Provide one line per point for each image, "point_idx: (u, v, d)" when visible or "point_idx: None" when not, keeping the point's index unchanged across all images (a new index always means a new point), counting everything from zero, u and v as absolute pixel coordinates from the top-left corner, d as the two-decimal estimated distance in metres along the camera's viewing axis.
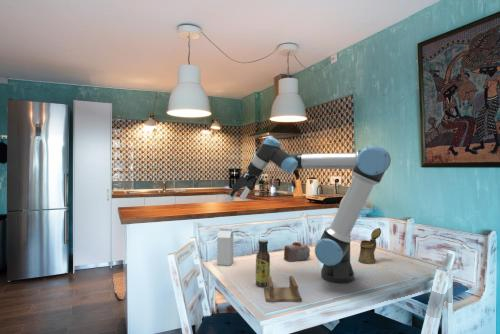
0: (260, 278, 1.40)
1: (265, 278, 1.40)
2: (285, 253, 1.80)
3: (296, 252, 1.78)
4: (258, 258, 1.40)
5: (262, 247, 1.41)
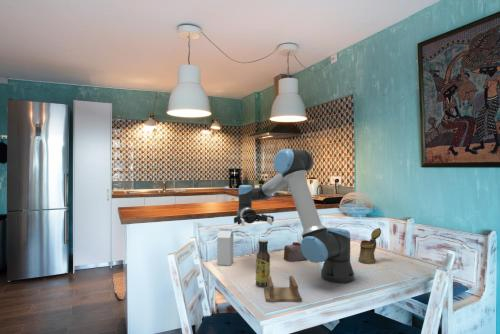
0: (260, 278, 1.40)
1: (265, 278, 1.40)
2: (285, 253, 1.80)
3: (296, 252, 1.78)
4: (258, 258, 1.40)
5: (262, 247, 1.41)
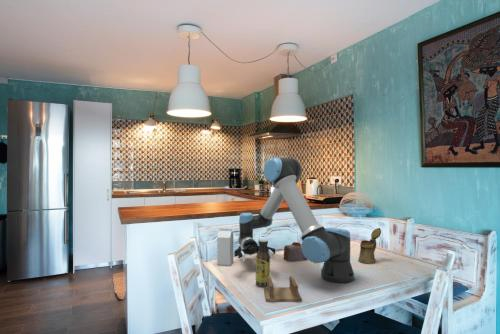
0: (260, 278, 1.40)
1: (265, 278, 1.40)
2: (285, 253, 1.80)
3: (296, 252, 1.78)
4: (258, 258, 1.40)
5: (262, 247, 1.41)
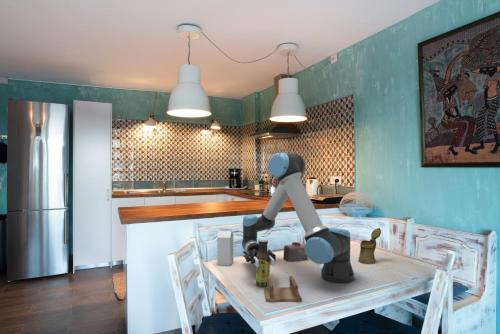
0: (260, 278, 1.40)
1: (265, 278, 1.40)
2: (285, 253, 1.80)
3: (296, 252, 1.78)
4: (258, 258, 1.40)
5: (261, 247, 1.41)
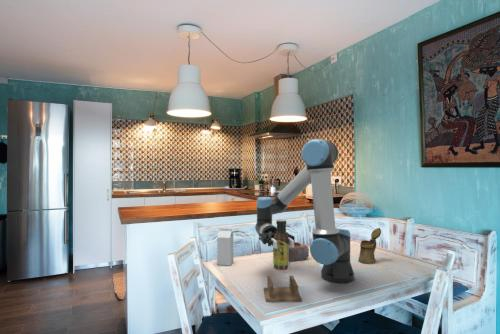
0: (278, 261, 1.28)
1: (284, 261, 1.28)
2: None
3: (295, 252, 1.78)
4: (276, 239, 1.29)
5: (280, 227, 1.29)
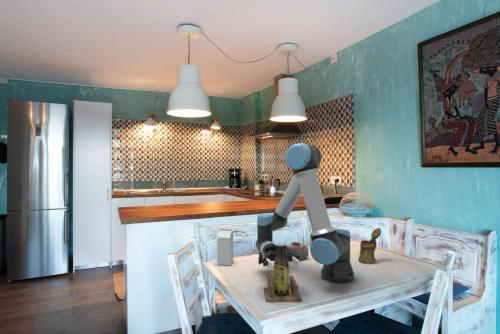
0: (279, 286, 1.28)
1: (284, 285, 1.28)
2: None
3: (295, 252, 1.78)
4: (276, 263, 1.29)
5: (280, 251, 1.29)
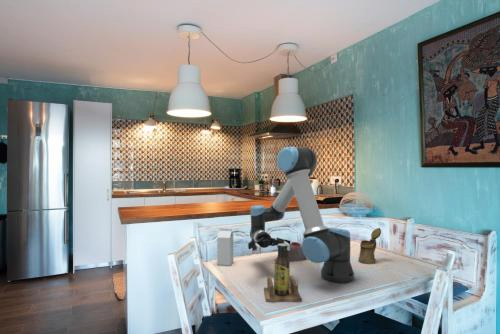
0: (279, 286, 1.28)
1: (285, 286, 1.28)
2: None
3: (295, 252, 1.78)
4: (277, 263, 1.29)
5: (281, 252, 1.29)
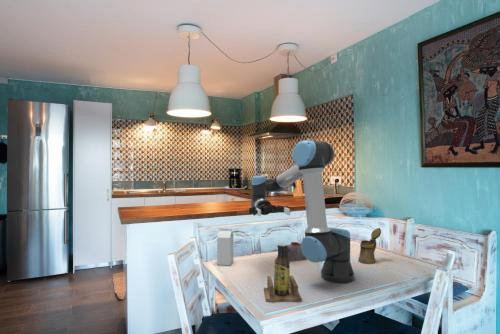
0: (279, 286, 1.28)
1: (285, 286, 1.28)
2: None
3: (295, 252, 1.78)
4: (277, 263, 1.29)
5: (281, 252, 1.29)
